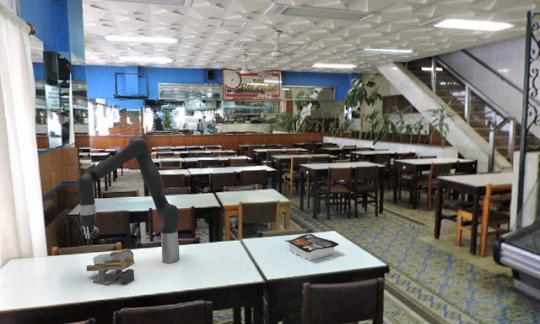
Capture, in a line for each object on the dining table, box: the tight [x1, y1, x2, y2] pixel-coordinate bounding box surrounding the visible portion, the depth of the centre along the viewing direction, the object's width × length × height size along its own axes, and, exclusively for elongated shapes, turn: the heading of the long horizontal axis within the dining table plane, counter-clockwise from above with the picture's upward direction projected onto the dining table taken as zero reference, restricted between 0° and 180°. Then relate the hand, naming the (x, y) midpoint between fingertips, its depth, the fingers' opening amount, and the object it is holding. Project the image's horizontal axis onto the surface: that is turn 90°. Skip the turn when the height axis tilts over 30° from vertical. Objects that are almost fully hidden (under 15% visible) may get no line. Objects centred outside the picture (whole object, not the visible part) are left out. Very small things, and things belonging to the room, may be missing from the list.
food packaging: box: [285, 233, 340, 262], centre depth 229 cm, size 25×8×23 cm
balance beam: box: [86, 254, 135, 273], centre depth 195 cm, size 8×25×6 cm, turn 67°
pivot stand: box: [92, 268, 135, 287], centre depth 194 cm, size 14×18×7 cm
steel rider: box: [92, 253, 112, 265], centre depth 197 cm, size 5×7×5 cm
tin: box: [109, 248, 135, 260], centre depth 214 cm, size 15×3×8 cm, turn 135°
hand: (89, 245), depth 199 cm, fingers closed
